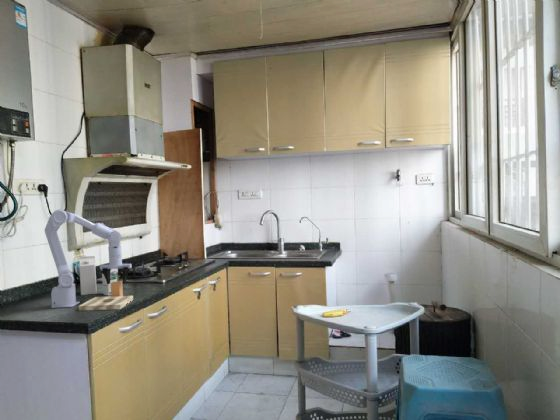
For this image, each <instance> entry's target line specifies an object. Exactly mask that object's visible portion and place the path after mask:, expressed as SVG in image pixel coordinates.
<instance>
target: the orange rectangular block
mask: <svg viewBox="0 0 560 420" xmlns="http://www.w3.org/2000/svg"><path fill="white" fill-rule="evenodd" d="M123 289H124V288H123V280H118V281H114V282H112V283H111V295H110V296H124V292H123V291H124V290H123Z"/></svg>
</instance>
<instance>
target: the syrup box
mask: <svg viewBox="0 0 560 420" xmlns="http://www.w3.org/2000/svg"><path fill="white" fill-rule="evenodd" d="M111 268H114V267H111ZM101 278H102V280H101V281H102V293H103V295H104V296H106V297H110V296H111V283H112V282H114V281H119V269H111V270H110V284H107V281H106V279H105V277H104V275H103V273H102V272H101Z"/></svg>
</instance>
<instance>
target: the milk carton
mask: <svg viewBox="0 0 560 420" xmlns="http://www.w3.org/2000/svg"><path fill="white" fill-rule="evenodd" d="M96 270H97V269H96V258H95V256H94V255H90V256H79V278H80V279H79V282H80V283H79V284H80V295H81V296H84V295H94V294H95V295H96V294H97V274H96Z"/></svg>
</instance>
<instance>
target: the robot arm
mask: <svg viewBox="0 0 560 420" xmlns="http://www.w3.org/2000/svg"><path fill="white" fill-rule="evenodd" d="M65 222H67V223H76V224H77V225H80V226H82V227H85V228H87V229H89V230H91V233H92V235H95V236H97V237H100V238H102V239H104V240H107V241H108V249H107V250H108V262H109V264H100V265H99V270H101V274H102V273H103V275H104V277H105V279H106V281H107V284H110V270H111V269H118V270H119V269H121V273H122V274H121V275H122V285H124V284H126V283H127V279H128V275H129V272H130V271H131V269H132V263H123V259H122V258H123V257H122V256H123V255H122V254H123V253H122V245H121V243H122V242H121V241H122V238H123V237H122V234H121V233H120V232H119V231H117V230H116V229H114V228H113V227H108V226H106V225H105V224H104V223H103V222H96V223H94V222H91V221H90V220H87V219H85V218H84V217H82V216H80V215H78V214H76V213H74V212H73V213H72V212H69V211H65V210H64V209H56V210H54V211H53V212H52V213H51V215H50V216H49V217H48V220H47V223H46V224H45V225H46V226H45V228H44V235H45V236H46V237H45V238H46V241H47V243H48V247H49V248H50V252H51V255H52V259H53V262H54V264H55V266H56V270H57V274H58V277H57V278H58V279H57V280H58V281H57V282H58V285H57V286H54V287H52V289H51V293H50V294H51V295H50V296H51V306H50V308H52V309H54V308H55V309H56V308H72V307H75V306H77V305H79V304H80V303H81V302H80V301H77V294H76V283H74V282H75V277H74V273H73V272H72V271H71V270H70V268H69V265H68V263H67V259H66V256H65V253H64V250H63V247H62V244H61V240H60V239H59V235H58V233H57V232H58V230H59V229H60V227H61V226H62V225H64V224H65ZM111 267H114V268H111Z"/></svg>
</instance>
